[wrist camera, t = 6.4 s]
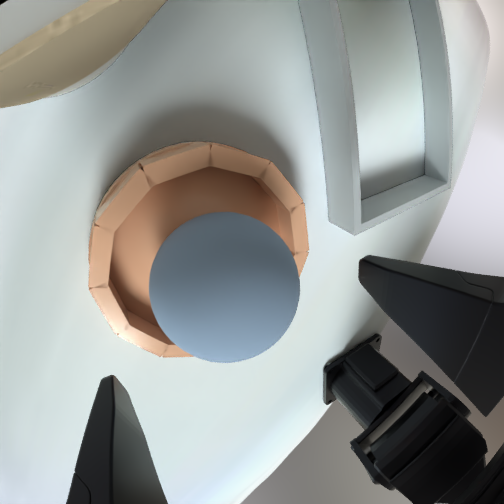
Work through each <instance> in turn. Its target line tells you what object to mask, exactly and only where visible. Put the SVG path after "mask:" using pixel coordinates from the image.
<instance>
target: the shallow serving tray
mask: <svg viewBox="0 0 504 504" xmlns="http://www.w3.org/2000/svg"><path fill="white" fill-rule="evenodd" d="M298 2H299V7H300V11H301V16H302V21H303V26H304V31H305V36H306V41H307V46H308V51H309V57H310V63H311V69H312V75H313V81H314V87H315V94H316V101H317V108H318V115H319V123H320V131H321V139H322V148H323V157H324V167H325V177H326V188H327V201H328V215H329V222H331V223H332V224H334V225H336V226H338V227H340V228H342V229H343V230H345V231H347V232H349V233H351V234H352V235H354V236H355V235H357V234H359V233H361V232H363V231H365V230H367V229H370V228H372V227H374V226H376V225H378V224H380V223H382V222H384V221H386V220H388V219H390V218H392V217H394V216H396V215H398V214H400V213H402V212H404V211H406V210H408V209H410V208H412V207H414V206H416V205H418V204H420V203H422V202H424V201H426V200H428V199H429V198H431V197H433V196H435V195H437V194H439V193H441V192H443V191H445V190H447V189H449V188H450V185H451V171H452V148H453V115H452V93H451V79H450V68H449V59H448V52H447V44H446V38H445V32H444V26H443V21H442V16H441V11H440V6H439V2H438V0H409V2H410V6H411V11H412V15H413V20H414V26H415V31H416V37H417V43H418V50H419V57H420V65H421V74H422V85H423V97H424V114H425V175H423V176H421V177H418V178H416V179H413V180H411V181H408V182H406V183H403V184H401V185H398V186H396V187H393V188H391V189H388V190H386V191H383V192H381V193H379V194H376V195H374V196H371V197H369V198H366V199H364V200H361V189H360V166H359V150H358V137H357V125H356V115H355V105H354V97H353V88H352V81H351V74H350V67H349V60H348V54H347V48H346V42H345V37H344V32H343V26H342V21H341V17H340V12H339V7H338V3H337V0H298Z"/></svg>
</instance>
